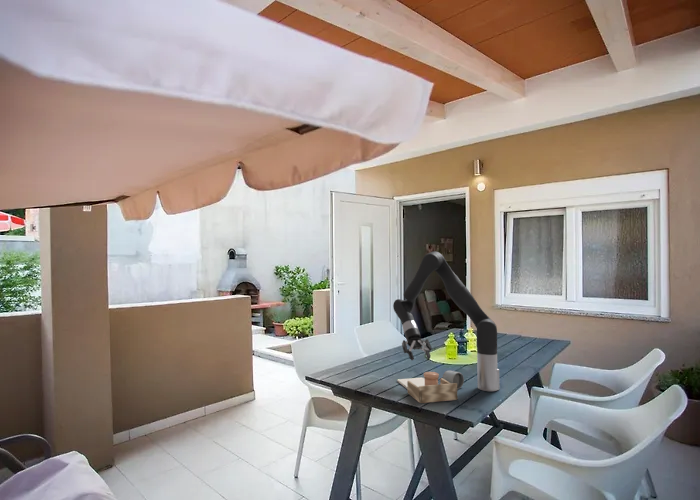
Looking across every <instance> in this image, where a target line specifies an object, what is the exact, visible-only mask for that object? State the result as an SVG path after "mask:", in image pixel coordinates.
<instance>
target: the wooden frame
mask: <svg viewBox="0 0 700 500" xmlns="http://www.w3.org/2000/svg"><path fill="white" fill-rule="evenodd" d="M439 378H440V377H439ZM439 382H440V384H439V383H438V385H427V386H419V387H417V386H416V385H414V384H413V383H412V382H410V381H407V389H406V391H407V394H408V395H409V396H411V397H412V398H413V399H414V400H416V401H417V402H418V403H420V404H425V403H436V402H447V401H456V400H458V389H457V383H449V382H448V381H446V380H444V379H443V377H442V378H440V381H439Z"/></svg>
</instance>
